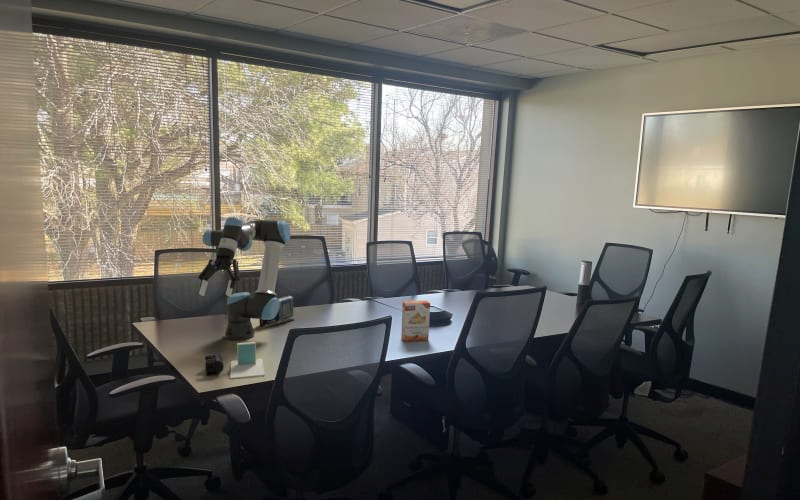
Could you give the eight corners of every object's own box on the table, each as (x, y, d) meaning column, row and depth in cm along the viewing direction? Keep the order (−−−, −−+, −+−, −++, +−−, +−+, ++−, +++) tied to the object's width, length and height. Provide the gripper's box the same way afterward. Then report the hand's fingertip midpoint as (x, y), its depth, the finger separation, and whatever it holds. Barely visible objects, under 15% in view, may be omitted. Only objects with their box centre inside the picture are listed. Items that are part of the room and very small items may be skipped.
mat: (230, 362, 233) (230, 360, 233) (262, 359, 237) (262, 358, 237) (230, 379, 214) (230, 377, 214) (264, 375, 219) (264, 374, 219)
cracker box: (404, 342, 267) (405, 303, 264) (400, 338, 273) (402, 300, 270) (429, 340, 271) (430, 302, 268) (425, 337, 277) (426, 299, 274)
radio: (261, 328, 284) (260, 302, 282) (253, 324, 291) (253, 299, 288) (296, 321, 300) (296, 296, 298) (289, 317, 307) (288, 293, 304)
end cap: (223, 374, 219) (223, 359, 218) (206, 377, 216) (205, 361, 215) (222, 366, 228) (221, 352, 227) (205, 368, 225) (205, 354, 224)
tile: (237, 364, 229) (237, 343, 228) (256, 362, 232) (255, 341, 230) (237, 366, 227) (237, 344, 226) (256, 364, 230) (255, 343, 228)
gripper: (198, 247, 226) (185, 292, 218) (246, 246, 219) (234, 292, 210) (208, 253, 233) (196, 297, 224) (255, 253, 225) (244, 298, 217)
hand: (214, 295), depth 217 cm, fingers open, 13 cm apart
